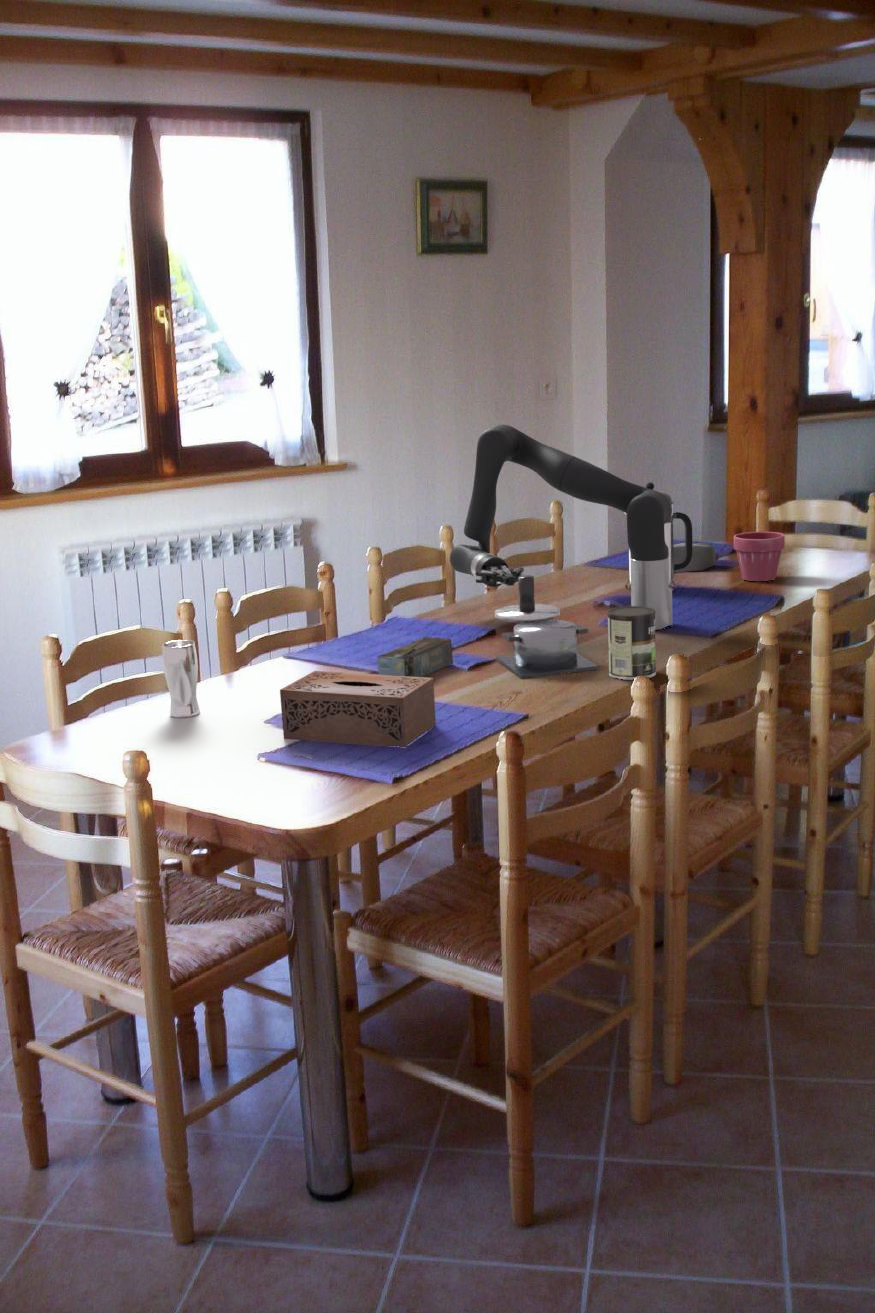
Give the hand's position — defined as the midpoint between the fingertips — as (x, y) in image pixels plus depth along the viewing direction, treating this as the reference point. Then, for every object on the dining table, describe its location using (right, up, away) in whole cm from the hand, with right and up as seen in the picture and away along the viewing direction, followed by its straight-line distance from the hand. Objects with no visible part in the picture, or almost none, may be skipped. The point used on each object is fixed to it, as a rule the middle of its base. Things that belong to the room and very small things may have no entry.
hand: (511, 581), depth 328 cm
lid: (+3, -8, -9) cm, 13 cm away
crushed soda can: (-70, -30, -43) cm, 87 cm away
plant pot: (+74, +4, +64) cm, 97 cm away
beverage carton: (-22, -22, -19) cm, 36 cm away
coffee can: (+25, -22, -29) cm, 44 cm away
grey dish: (+57, +8, +86) cm, 103 cm away
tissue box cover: (-32, -33, -61) cm, 77 cm away
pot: (+7, -20, -18) cm, 28 cm away
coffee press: (+43, +1, +58) cm, 72 cm away
